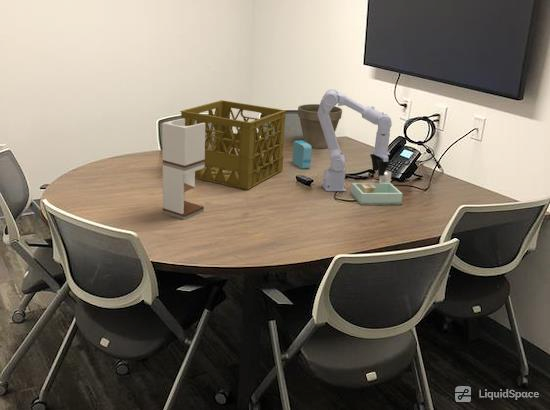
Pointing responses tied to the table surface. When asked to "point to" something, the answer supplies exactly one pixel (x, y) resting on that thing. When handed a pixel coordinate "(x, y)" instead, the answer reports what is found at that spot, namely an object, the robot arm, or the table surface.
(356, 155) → the table surface
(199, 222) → the table surface
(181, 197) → the notched white pedestal
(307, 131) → the plant pot
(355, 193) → the tote
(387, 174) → the metal cylinder
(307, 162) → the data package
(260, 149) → the milk crate
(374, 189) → the maple block
